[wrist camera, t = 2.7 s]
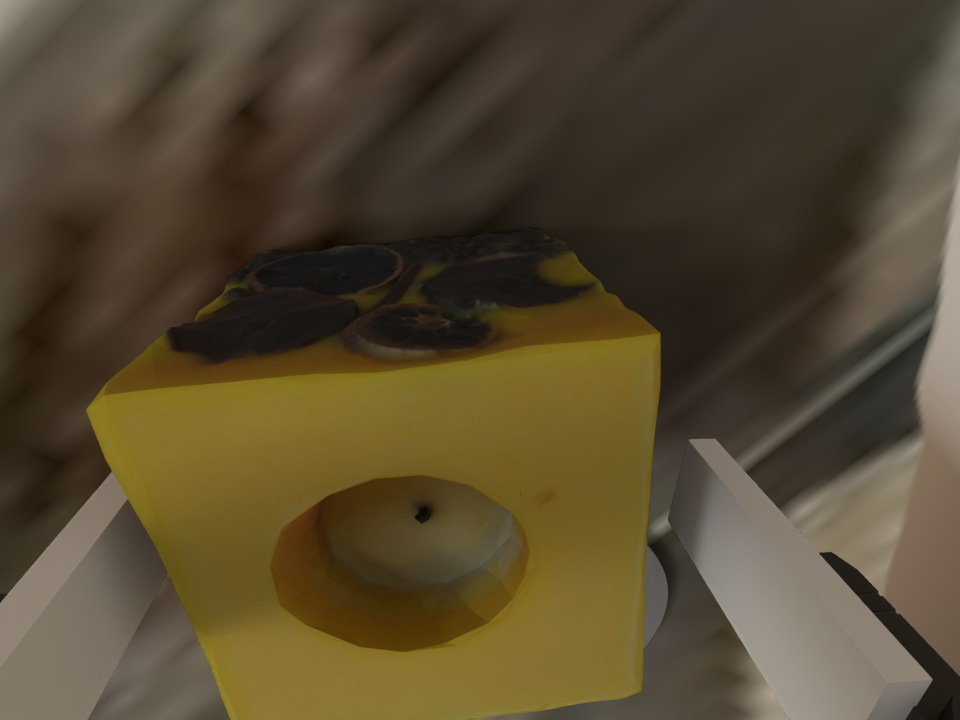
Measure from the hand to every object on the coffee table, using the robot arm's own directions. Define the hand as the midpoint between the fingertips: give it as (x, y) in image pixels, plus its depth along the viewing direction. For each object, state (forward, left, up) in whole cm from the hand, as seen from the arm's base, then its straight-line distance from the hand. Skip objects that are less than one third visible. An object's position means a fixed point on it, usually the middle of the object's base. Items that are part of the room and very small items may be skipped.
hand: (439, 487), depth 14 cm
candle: (0, 0, -7) cm, 7 cm away
